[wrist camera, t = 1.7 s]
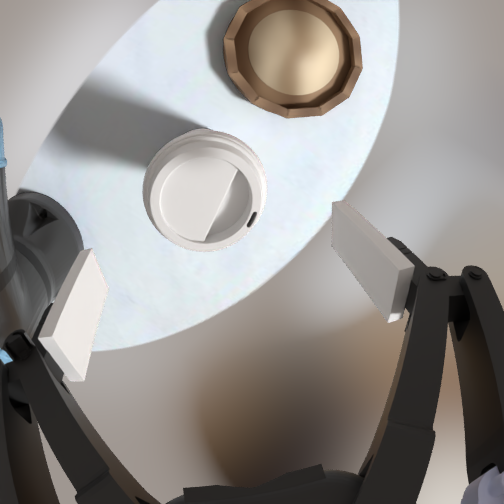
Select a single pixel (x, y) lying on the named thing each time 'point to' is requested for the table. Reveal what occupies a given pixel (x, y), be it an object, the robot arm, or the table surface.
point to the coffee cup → (205, 190)
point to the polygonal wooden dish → (293, 55)
